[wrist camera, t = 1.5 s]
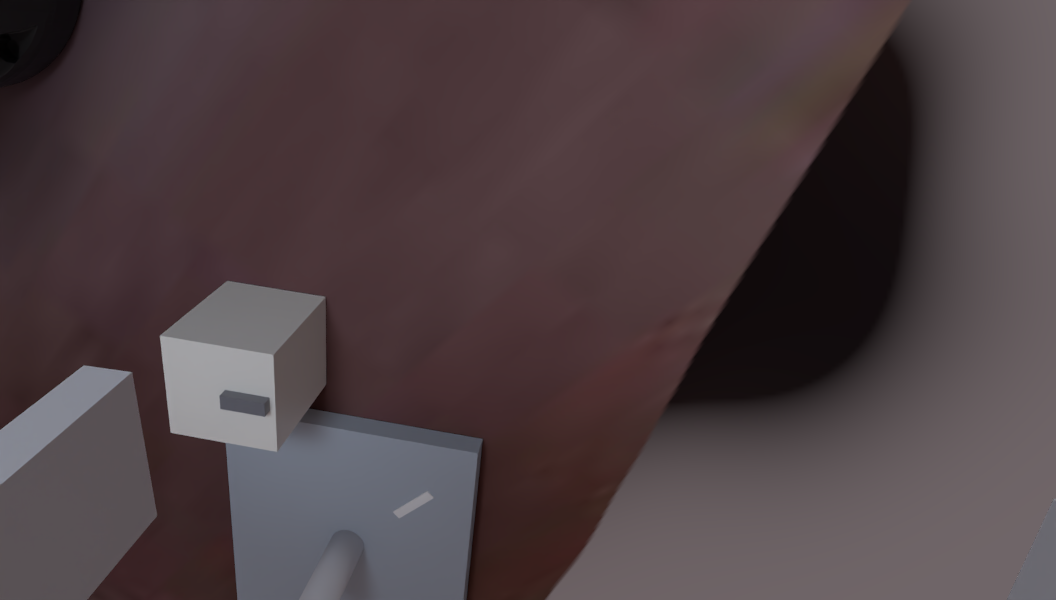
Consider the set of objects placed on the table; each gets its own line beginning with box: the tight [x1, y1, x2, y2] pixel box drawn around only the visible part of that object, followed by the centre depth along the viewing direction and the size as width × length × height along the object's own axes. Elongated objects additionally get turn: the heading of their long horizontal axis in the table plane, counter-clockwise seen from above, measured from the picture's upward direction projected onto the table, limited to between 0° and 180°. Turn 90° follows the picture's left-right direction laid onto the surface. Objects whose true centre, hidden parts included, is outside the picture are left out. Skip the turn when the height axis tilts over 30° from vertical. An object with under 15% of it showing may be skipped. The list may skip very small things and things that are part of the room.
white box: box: [160, 281, 326, 452], centre depth 43 cm, size 6×6×8 cm
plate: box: [226, 409, 483, 600], centre depth 49 cm, size 16×18×7 cm
